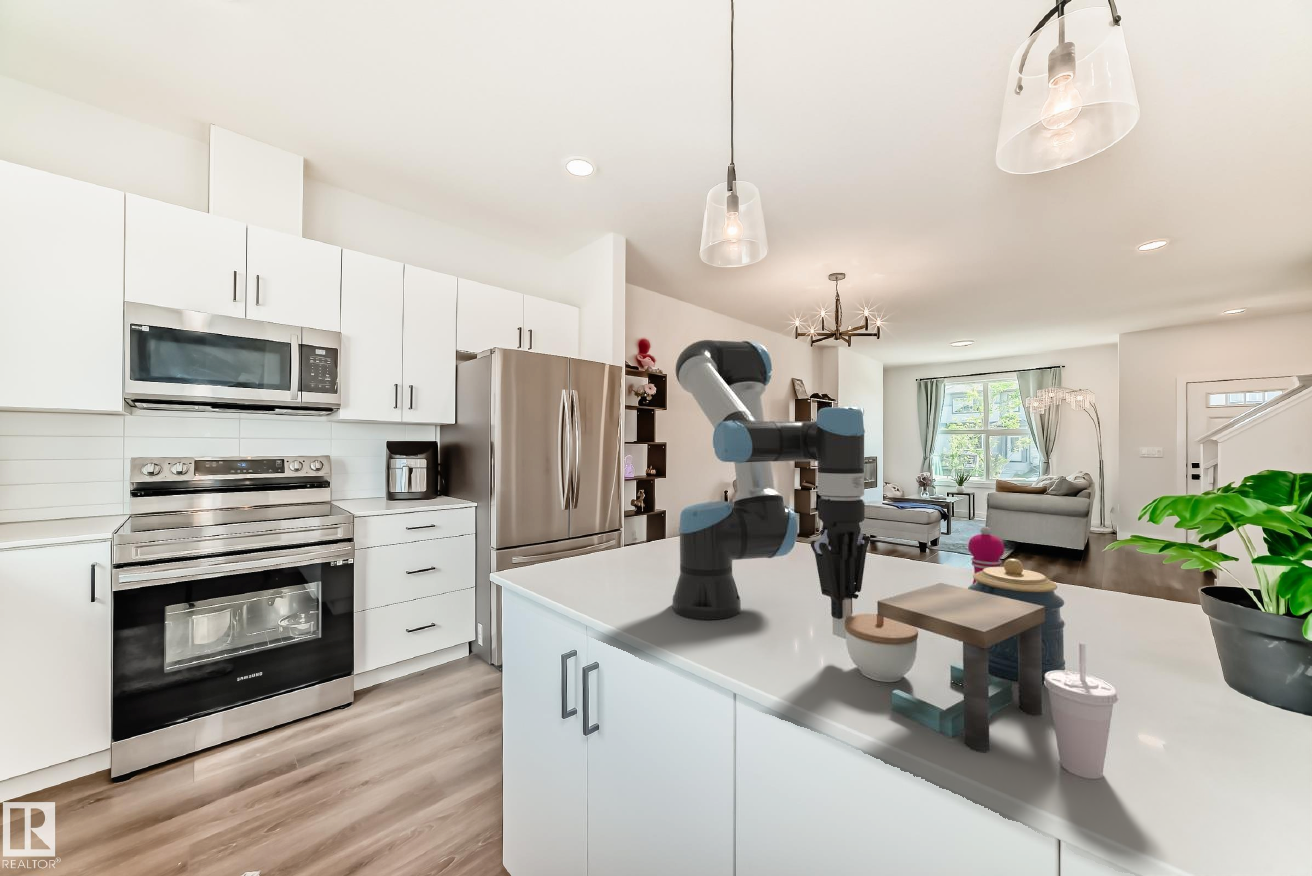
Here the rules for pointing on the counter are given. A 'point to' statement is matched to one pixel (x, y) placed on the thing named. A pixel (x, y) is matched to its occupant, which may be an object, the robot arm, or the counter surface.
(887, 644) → the lidded jar
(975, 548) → the pepper mill
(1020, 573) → the canister
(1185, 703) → the counter surface
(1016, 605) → the overhang shelf
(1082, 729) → the smoothie
